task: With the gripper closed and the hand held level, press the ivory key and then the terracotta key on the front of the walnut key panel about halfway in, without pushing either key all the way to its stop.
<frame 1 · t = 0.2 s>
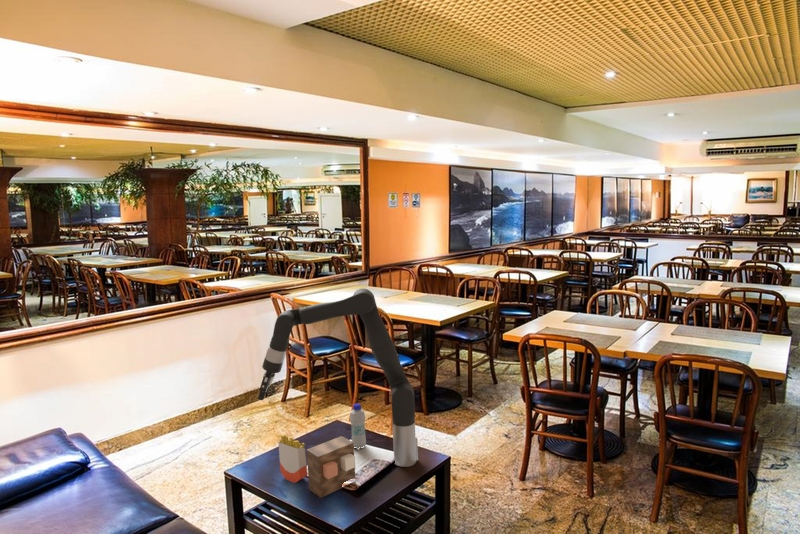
hand: (263, 395, 214), 31 cm above the table, tool tilted 20°, fingers open, 8 cm apart
ivory key: (347, 461, 200), point 10 cm above the table, slide at 0.0 cm
bottle: (359, 447, 233), on the table
french fries container: (294, 479, 209), on the table
key panel: (332, 485, 203), on the table
terracotta key: (329, 469, 195), point 10 cm above the table, slide at 0.0 cm
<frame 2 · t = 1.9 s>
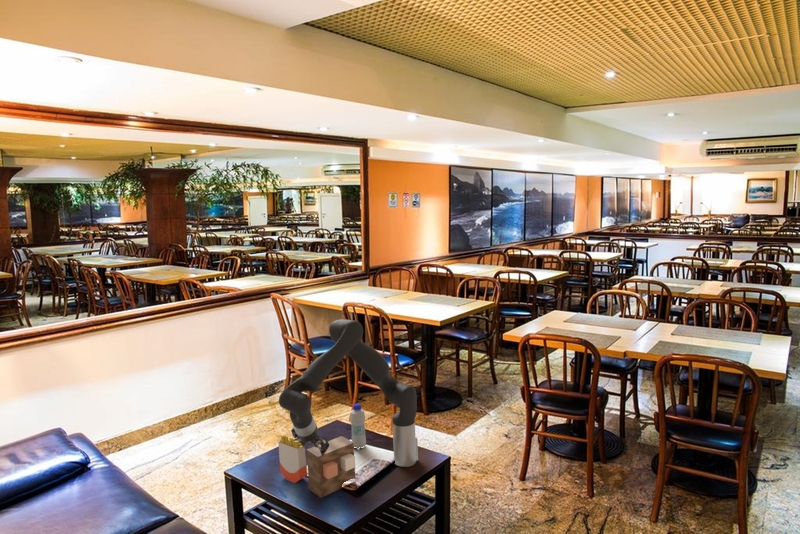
hand: (313, 447, 197), 18 cm above the table, tool tilted 40°, fingers open, 8 cm apart
nothing on the table moved.
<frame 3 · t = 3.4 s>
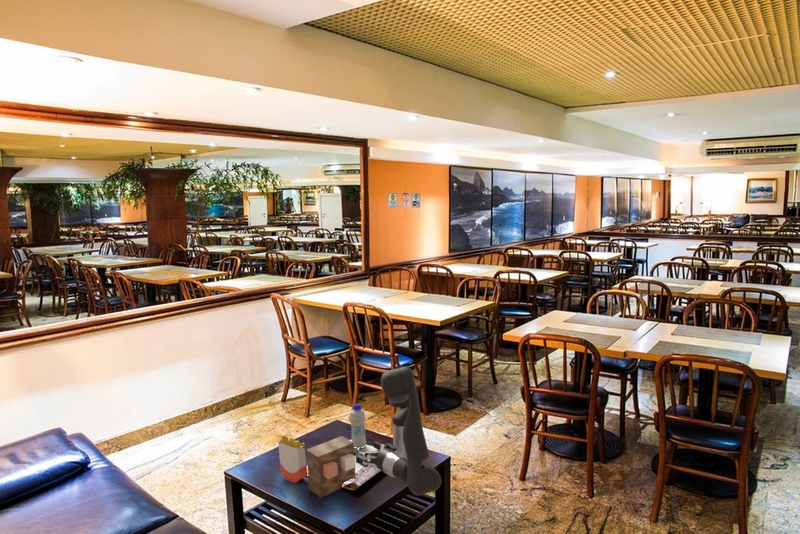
hand: (364, 448, 189), 20 cm above the table, tool horizontal, fingers open, 8 cm apart
nothing on the table moved.
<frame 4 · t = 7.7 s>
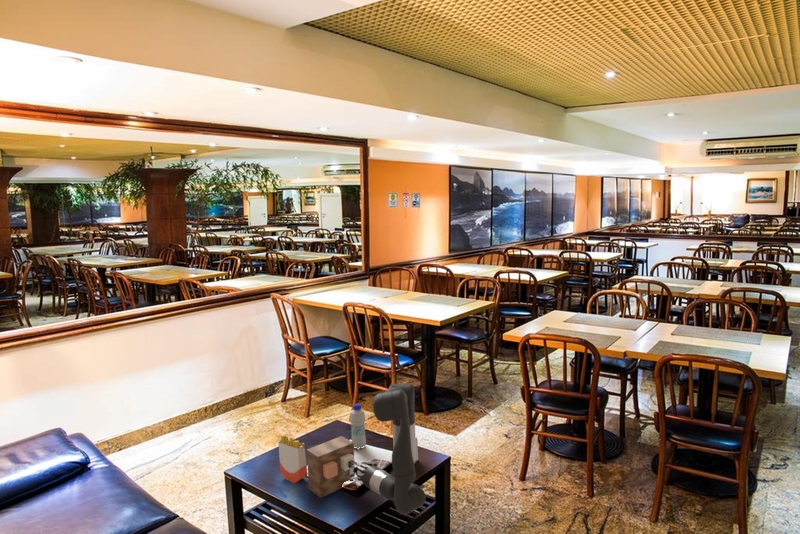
hand: (349, 463, 199), 10 cm above the table, tool horizontal, fingers closed
ivory key: (346, 461, 200), point 10 cm above the table, slide at 0.4 cm, touching gripper
everything else where it was.
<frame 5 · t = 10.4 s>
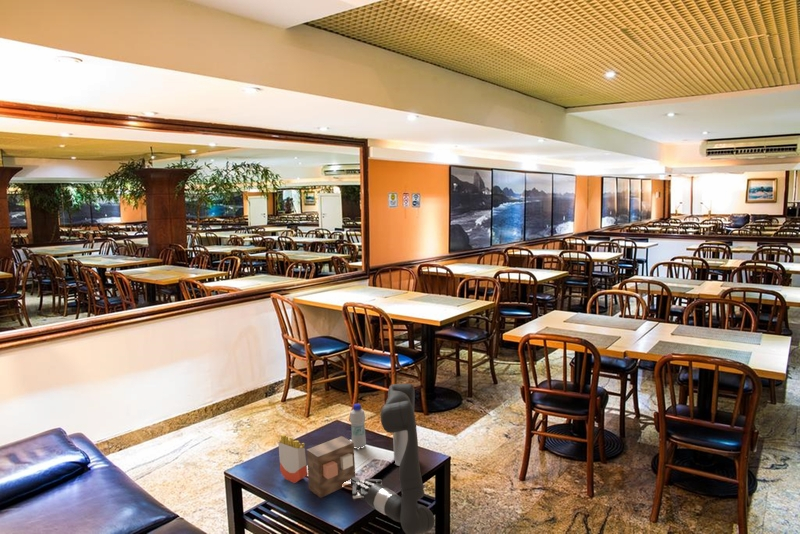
hand: (352, 480, 187), 10 cm above the table, tool horizontal, fingers closed
ivory key: (344, 460, 201), point 10 cm above the table, slide at 1.6 cm
everything else where it was.
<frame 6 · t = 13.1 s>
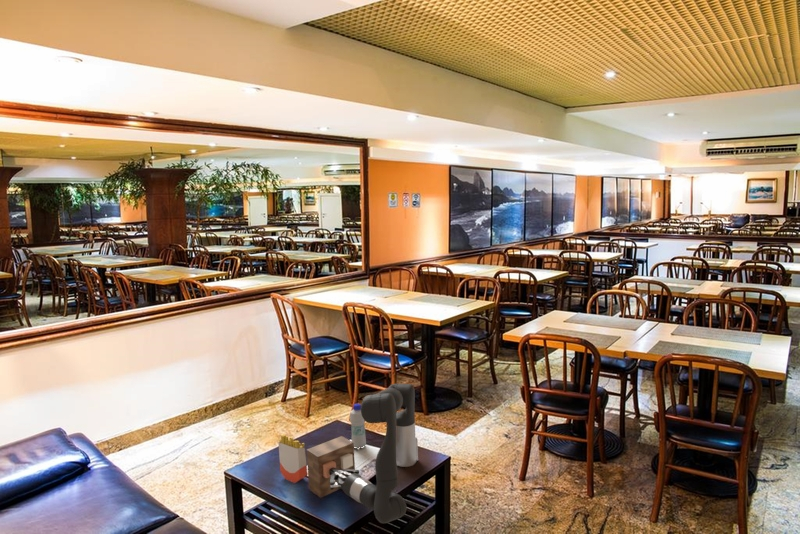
hand: (331, 470, 194), 10 cm above the table, tool horizontal, fingers closed
terracotta key: (328, 468, 196), point 10 cm above the table, slide at 1.0 cm, touching gripper
everything else where it was.
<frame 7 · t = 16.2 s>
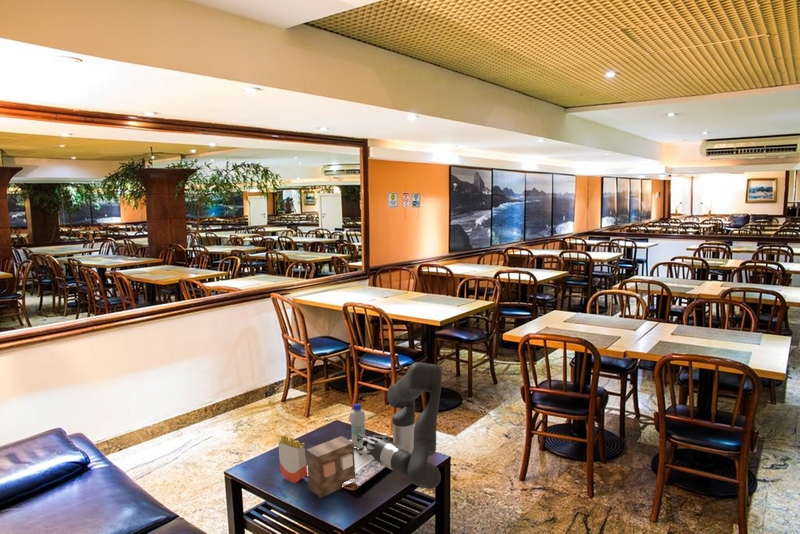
hand: (359, 436, 184), 27 cm above the table, tool horizontal, fingers closed
terracotta key: (327, 467, 196), point 10 cm above the table, slide at 1.5 cm
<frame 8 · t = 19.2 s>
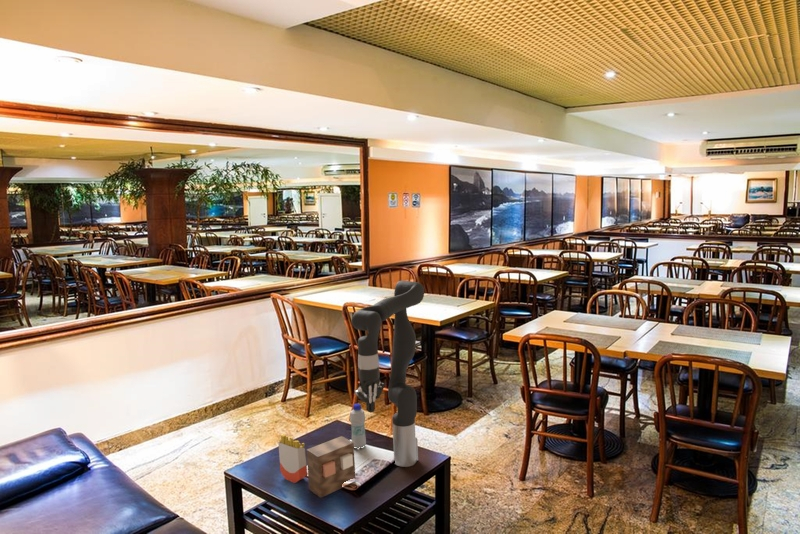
hand: (370, 411, 192), 32 cm above the table, tool pointing down, fingers closed
at the end: ivory key slide at 1.6 cm; terracotta key slide at 1.5 cm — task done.
